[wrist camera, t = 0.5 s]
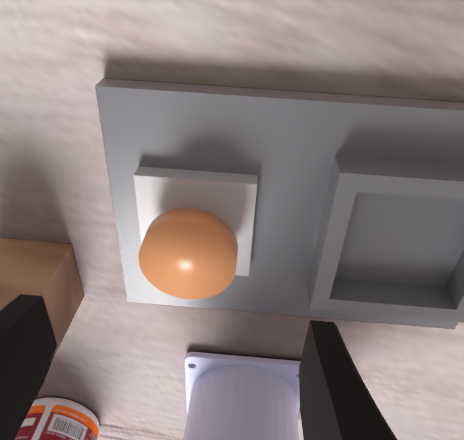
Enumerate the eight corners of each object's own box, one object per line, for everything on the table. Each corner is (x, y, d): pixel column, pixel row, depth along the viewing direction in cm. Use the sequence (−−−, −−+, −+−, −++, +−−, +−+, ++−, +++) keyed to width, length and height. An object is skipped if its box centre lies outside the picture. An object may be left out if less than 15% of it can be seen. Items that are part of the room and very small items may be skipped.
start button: (235, 283, 19) (233, 303, 18) (149, 276, 19) (142, 295, 18) (240, 211, 16) (238, 229, 16) (141, 203, 17) (134, 221, 16)
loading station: (447, 315, 23) (464, 352, 21) (132, 288, 24) (119, 322, 22) (553, 108, 16) (594, 134, 14) (103, 78, 17) (80, 98, 15)
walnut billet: (84, 295, 24) (28, 407, 19) (18, 290, 25) (-57, 399, 19) (71, 243, 22) (3, 352, 16) (-1, 237, 22) (-93, 343, 17)
